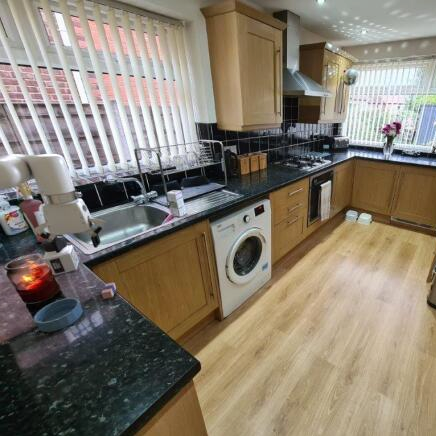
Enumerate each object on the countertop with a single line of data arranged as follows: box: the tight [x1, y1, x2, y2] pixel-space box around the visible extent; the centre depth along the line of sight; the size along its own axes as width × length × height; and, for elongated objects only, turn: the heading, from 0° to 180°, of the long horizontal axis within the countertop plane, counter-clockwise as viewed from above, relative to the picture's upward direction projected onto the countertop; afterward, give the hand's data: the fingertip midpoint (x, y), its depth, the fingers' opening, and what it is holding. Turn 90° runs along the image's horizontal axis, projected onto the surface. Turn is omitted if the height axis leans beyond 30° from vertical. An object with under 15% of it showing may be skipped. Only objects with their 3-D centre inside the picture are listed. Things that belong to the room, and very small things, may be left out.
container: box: [40, 236, 79, 277], centre depth 93 cm, size 8×8×13 cm
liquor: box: [17, 182, 49, 243], centre depth 111 cm, size 7×7×28 cm
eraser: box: [101, 282, 117, 300], centre depth 81 cm, size 5×3×3 cm, turn 22°
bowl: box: [33, 297, 84, 333], centre depth 71 cm, size 10×10×4 cm
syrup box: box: [166, 189, 186, 218], centre depth 143 cm, size 6×6×14 cm
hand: (79, 248), depth 78 cm, fingers open, 9 cm apart
